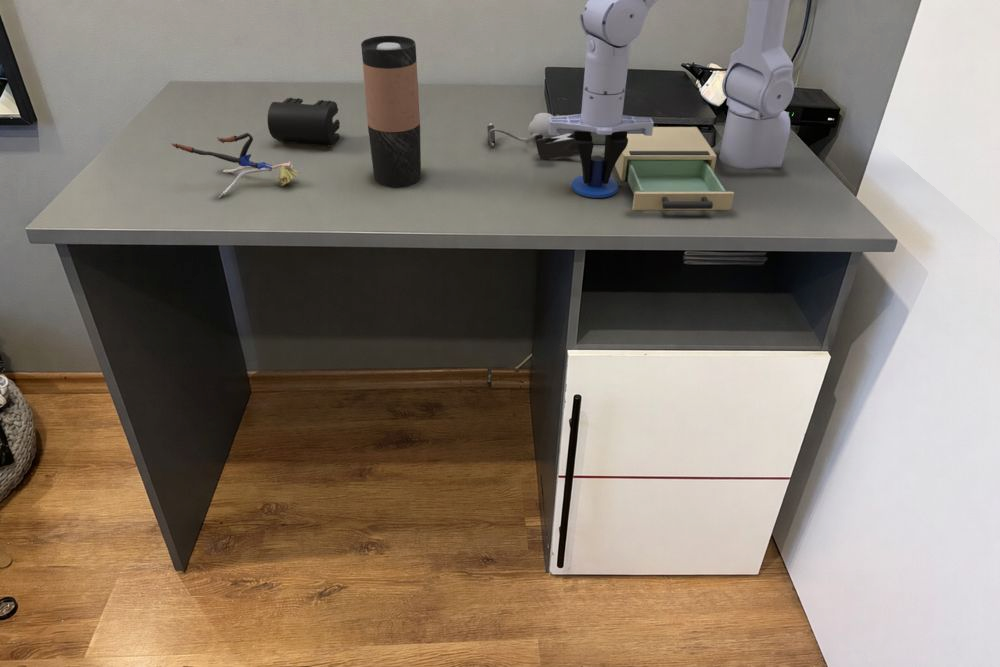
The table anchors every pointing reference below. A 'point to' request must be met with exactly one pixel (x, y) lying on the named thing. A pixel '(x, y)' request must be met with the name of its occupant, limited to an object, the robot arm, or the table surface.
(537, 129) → the clip-on lamp
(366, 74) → the travel mug
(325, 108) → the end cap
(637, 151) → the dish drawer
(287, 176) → the spliced wire bundle
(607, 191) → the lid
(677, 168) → the wooden drawer
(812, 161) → the table surface
